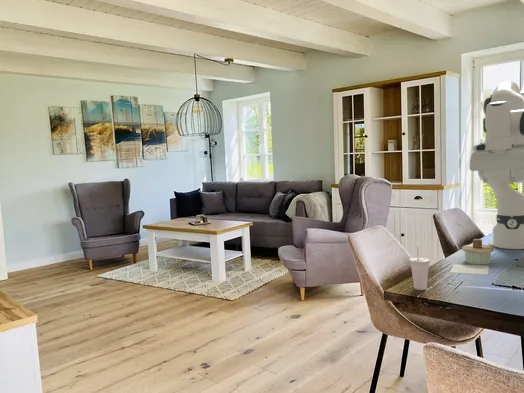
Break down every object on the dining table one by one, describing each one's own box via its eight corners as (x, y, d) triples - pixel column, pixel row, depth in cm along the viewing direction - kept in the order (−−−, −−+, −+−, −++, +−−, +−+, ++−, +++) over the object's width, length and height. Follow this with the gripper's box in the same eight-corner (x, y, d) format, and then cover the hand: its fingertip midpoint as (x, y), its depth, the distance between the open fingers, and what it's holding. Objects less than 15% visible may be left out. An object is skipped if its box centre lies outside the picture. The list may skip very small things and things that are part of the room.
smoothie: (406, 287, 148) (404, 246, 147) (420, 284, 151) (418, 243, 150) (421, 292, 142) (419, 249, 141) (435, 288, 145) (433, 246, 144)
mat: (453, 265, 171) (453, 264, 171) (488, 267, 165) (488, 266, 165) (450, 273, 161) (450, 272, 161) (487, 276, 155) (487, 274, 155)
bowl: (466, 259, 180) (465, 247, 179) (491, 260, 175) (491, 248, 175) (464, 264, 172) (463, 252, 171) (490, 266, 167) (490, 253, 167)
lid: (463, 246, 180) (462, 236, 180) (493, 247, 175) (493, 237, 175) (460, 252, 171) (460, 242, 171) (493, 253, 166) (493, 243, 165)
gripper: (530, 143, 164) (531, 180, 166) (469, 147, 174) (470, 182, 175) (531, 143, 159) (532, 181, 160) (468, 147, 169) (469, 183, 170)
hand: (499, 182), depth 168 cm, fingers open, 8 cm apart
